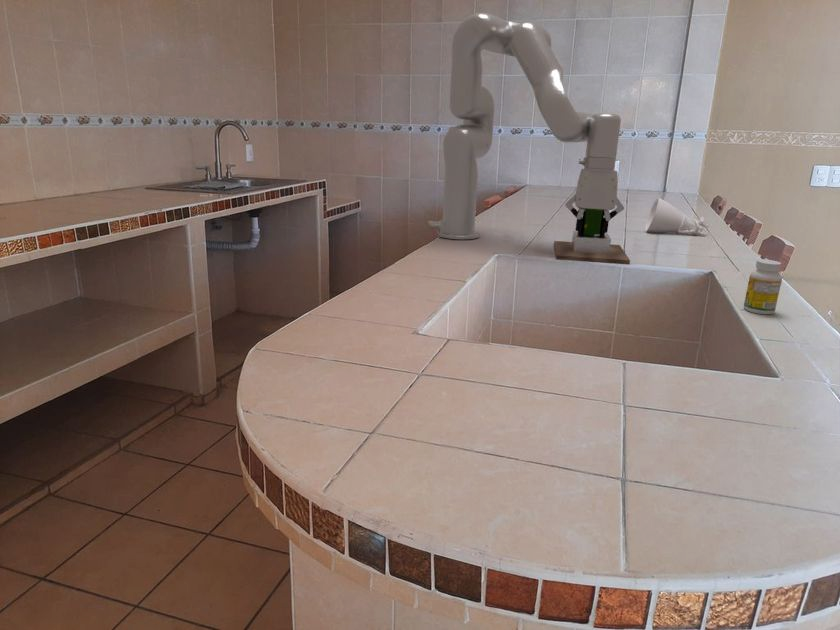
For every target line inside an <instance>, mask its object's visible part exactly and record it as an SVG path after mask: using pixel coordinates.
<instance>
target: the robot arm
mask: <svg viewBox="0 0 840 630" xmlns="http://www.w3.org/2000/svg"><path fill="white" fill-rule="evenodd" d="M551 46H552V38H551V35H550V32H549V31H548V30H547V29H546V28H545V27H543V26H542V25H539V24H537V23H535V22H531V21H523V22H521V23H519V22H514V21H509V20H505V19H502V18H501V17H498V16H496V15H494V14H490V13H487V12H477V13H473V14H471V15H469V16H467V17H466V18H465V19H463V21H462V22H461V23H459V25H458V27H457V28H456V30H455V32H454V34H453V37H452V43H451V70H450V84H449V85H450V89H449V90H450V91H449V109H450V112H451V114H452V115H453V117H455V118H456V119H459V120H463V121H462V122H463V124H458V125H455V126H453V127H452V128H450V129H448V131H447V132H446V134H445V136H444V138H443V142H442V149H443V159H444V182H443V183H444V189H443V209H442V210H443V211H442V212H443V213H442V219H441V220H438V221H435V220H428V222H427V223H428V225H427V226H428V228H431V229H438V230H437V232H436V234H437V237H440V238H445V239H450V240H460V241H461V240H476V239H478V238H480V232H479V231H477V230H475V229H476V228H475V226H476V209H477V192H478V173H479V172H478V163H477V159H480V158H483V157H485V156H486V155H487V154H488V153H489V151H490V149H491V147H492V143H493V134H494V133H493V131H494V118H495V101H494V97H493V94H492V93H491V91H490V89H488V88H486V87H485V86H482V79H483V76H482V74H483V61H482V57H481V54H482V51H483V50H485V51H488V52H492V53H495V54H496V53H497V54H500V55H506V56H509V57H512V58H513V57H514V58H516V61H517V63H518V64H519V66H520V68H521V69H522V71H523V73H524V75H525V77H526V78H527V81H528V82H529V84H530V86H531V88H532V90H533V93H534V98H535V101H536V104H537V107H538V110H539V111H540V114H541V116H542V118H543V120H544V121H545V123H546V125H547V126H548V128H549V130H550V132H551V133H552V135H553V136H554V138H556V139H557V140H558V141H560V142H561V143H567V144H568V143H581V142H582V143H583V142H586V147H585V148H586V149H585V156H584V158H579V159H578V160H579V161H578V165H582V166H583V168H581V169H580V172H579V175H578V180H577V186H576V189H575V194H574V195H573V196H571V197H570V198H569V199H568V201H566V203H565V208H567V209H568V210H569V211H570V212H571V213H572V214H573V215H574V217H575V218H576V222H575V231H578V235H580V234H581V232H582V223H583V220H582V216H583V213H584V211H585V209H598V210H604V219H603V225H602V233H601V236H604V235H605V233H607V234H608V229H609V224H610V221H611V220H612V219H613V218H615V216H616V215H618V214H619V213H621V212H623V211H624V210H625V207H624V205H623V204H622V202H621V201H620V199H619V198H618V182H619V177H618V175H619V174H618V171H617V170H615V169H616V160H617V152H618V146H619V138H620V130H621V121H622V119H621V117H620V116H619V115H618V114H616V113H594V114H591V113H585V112H580V111H576V110H575V108H574V106H573V105H572V103H571V102H570V99H569V97H568V96H567V93H566V91H565V88H564V83H563V77H564V70H563V68H562V66H561V64H560V63H559V61H558V59H557V57H556V55H555V53H554V52H553V50H552V47H551ZM573 204H574V205H575V206H576V208H578V210H577V209H576V208H575V206H573Z"/></svg>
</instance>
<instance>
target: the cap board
mask: <svg viewBox="0 0 840 630" xmlns="http://www.w3.org/2000/svg"><path fill="white" fill-rule="evenodd" d="M611 243H612V238H611V237H610V236H609V234H608V232H607V233H605V235H604V236H601V238H595V237H580V235H578V231H576V230H573V231H572V239H571V241H564V240H563V241H562V240H561V241H560V240H554V243H553V247H554V252H555V259H556V260H563V261H579V262H592V263H608V264H622V265H630V264H631V260H630V258H629V257H628V255H627V254H626V252H625V250H624V249H623V248H622V246H621V244H611Z"/></svg>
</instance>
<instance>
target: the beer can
mask: <svg viewBox="0 0 840 630" xmlns="http://www.w3.org/2000/svg"><path fill="white" fill-rule="evenodd" d="M603 219H604V210H598V209H585V211H584V213H583V215H582V220H583V223H582V232H581V234H580V237H595V238H601V233H602V225H603Z"/></svg>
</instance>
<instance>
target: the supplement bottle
mask: <svg viewBox="0 0 840 630" xmlns="http://www.w3.org/2000/svg"><path fill="white" fill-rule="evenodd" d="M781 267H782V262H780V261H777V260H772V259H757V260H756V263H755V268H756V269H755V270H752V271H751V272H750V274H749V278H748V284H747V288H746V292H745V297H744V302H743V309H744V310H745V311H747V312H750V313H753V314H757V315H772V314H774V313H775V311H776V308H777V304H778V299H779V294H780V291H781V286H782V282H783V276H782V275H781V274H780V273H779V272H780V271H781Z"/></svg>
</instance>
